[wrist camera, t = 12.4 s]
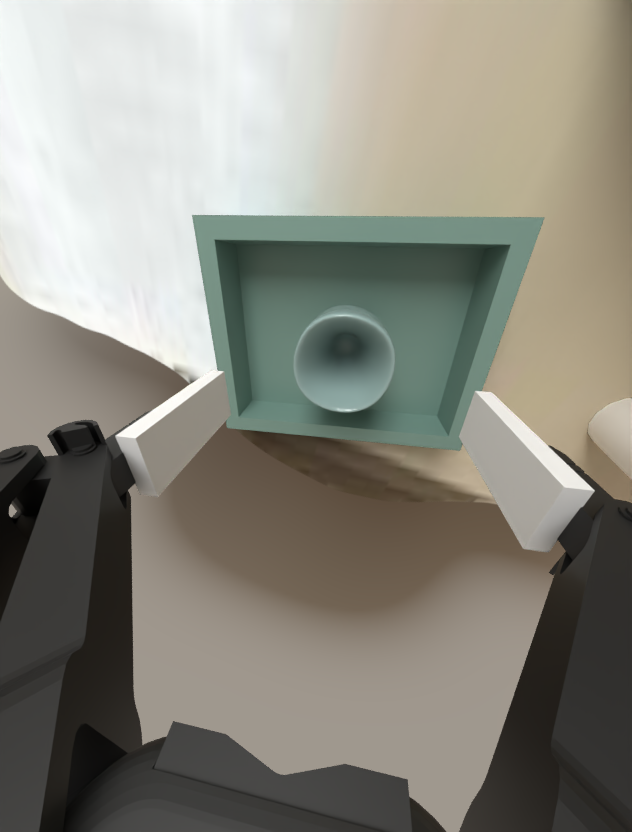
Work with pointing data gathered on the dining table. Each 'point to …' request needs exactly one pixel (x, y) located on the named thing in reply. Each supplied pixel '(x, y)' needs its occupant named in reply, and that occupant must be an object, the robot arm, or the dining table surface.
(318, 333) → the cup
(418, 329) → the tray
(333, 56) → the dining table surface
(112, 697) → the robot arm
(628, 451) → the foam cup
